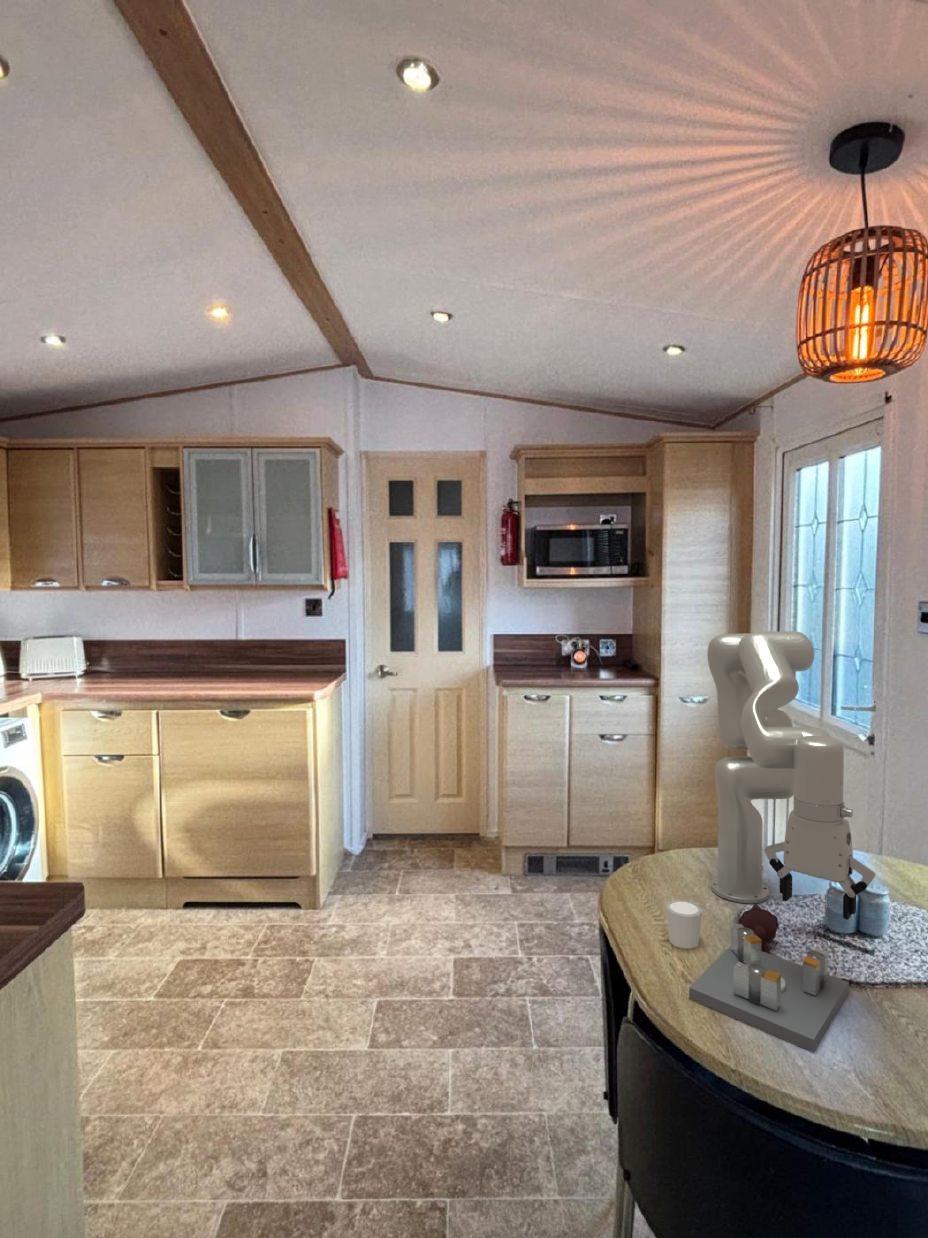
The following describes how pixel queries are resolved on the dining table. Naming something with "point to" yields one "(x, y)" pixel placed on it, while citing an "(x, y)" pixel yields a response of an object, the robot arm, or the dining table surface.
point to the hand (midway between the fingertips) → (816, 907)
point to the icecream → (761, 925)
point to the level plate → (799, 1010)
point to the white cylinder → (683, 923)
